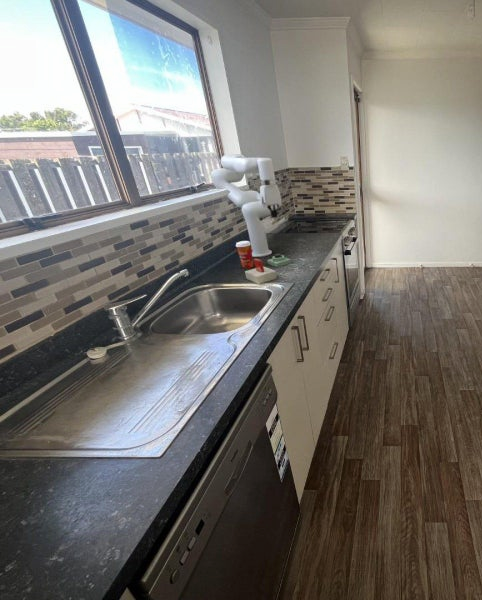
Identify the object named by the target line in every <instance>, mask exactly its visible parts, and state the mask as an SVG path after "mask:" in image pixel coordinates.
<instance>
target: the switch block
mask: <svg viewBox="0 0 482 600" xmlns="http://www.w3.org/2000/svg"><path fill="white" fill-rule="evenodd" d="M281 256H282V257H280V258H275V255H274V256H272V258H270V259H267V260H266V262H267V264H268V265H271V266H273V267H276V268H278V267H282V266H285V265H289V264H291V263H292V260H291V259H290V258H287V257H285V255H283V254H281Z"/></svg>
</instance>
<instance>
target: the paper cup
mask: <svg viewBox="0 0 482 600" xmlns="http://www.w3.org/2000/svg"><path fill="white" fill-rule="evenodd" d="M235 243H236V244H235V247H236V250H237V253H238V256H239V259H240V263H241V266H242V269H251V268H253V267H255V264H254V257H252V252H253V251H252V249H251V242H250V240H241V241H238V242H235Z"/></svg>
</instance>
